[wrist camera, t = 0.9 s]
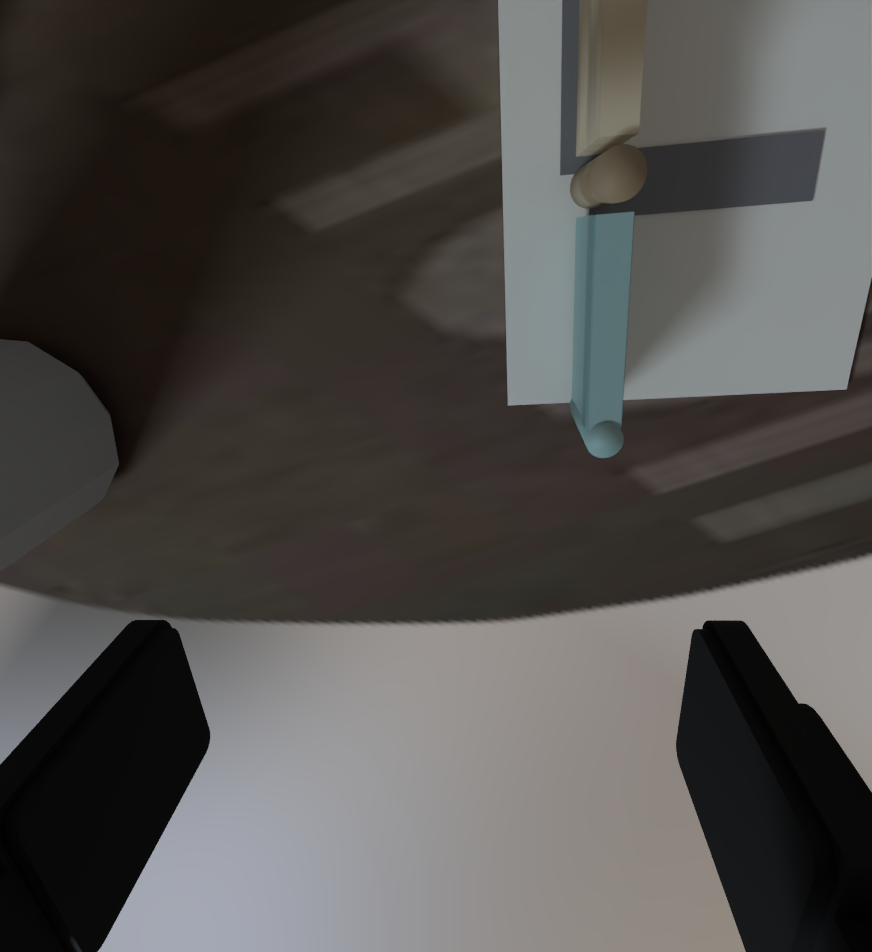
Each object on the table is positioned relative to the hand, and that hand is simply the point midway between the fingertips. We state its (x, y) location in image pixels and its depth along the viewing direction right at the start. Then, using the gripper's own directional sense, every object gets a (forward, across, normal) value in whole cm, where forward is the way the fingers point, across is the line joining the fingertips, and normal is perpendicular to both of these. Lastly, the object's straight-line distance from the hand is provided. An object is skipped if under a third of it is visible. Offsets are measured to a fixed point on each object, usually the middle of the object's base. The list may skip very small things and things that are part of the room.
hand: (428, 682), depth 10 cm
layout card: (+18, -9, -8) cm, 22 cm away
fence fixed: (+18, -5, -13) cm, 23 cm away
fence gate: (+17, -5, -3) cm, 19 cm away
